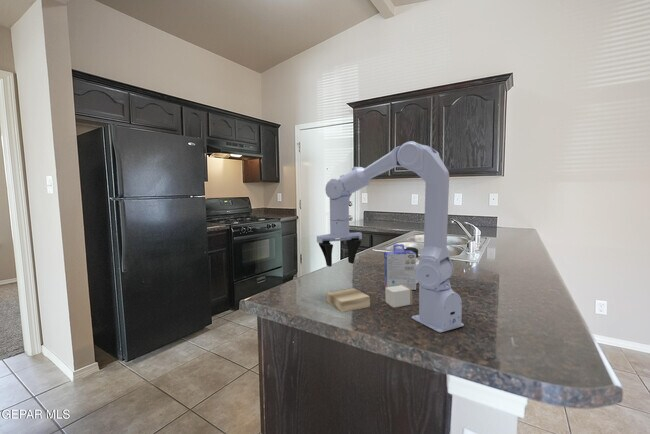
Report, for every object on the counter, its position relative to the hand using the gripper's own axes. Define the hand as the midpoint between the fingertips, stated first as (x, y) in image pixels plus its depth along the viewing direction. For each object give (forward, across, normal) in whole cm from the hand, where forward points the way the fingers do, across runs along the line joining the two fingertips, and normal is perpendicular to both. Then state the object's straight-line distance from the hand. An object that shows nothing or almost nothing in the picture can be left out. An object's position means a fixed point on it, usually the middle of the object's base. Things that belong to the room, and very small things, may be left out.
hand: (340, 264), depth 93 cm
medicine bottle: (+11, -31, -4) cm, 33 cm away
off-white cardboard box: (+8, -9, +12) cm, 17 cm away
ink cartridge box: (+11, -22, +1) cm, 24 cm away
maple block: (+10, +1, +6) cm, 12 cm away
